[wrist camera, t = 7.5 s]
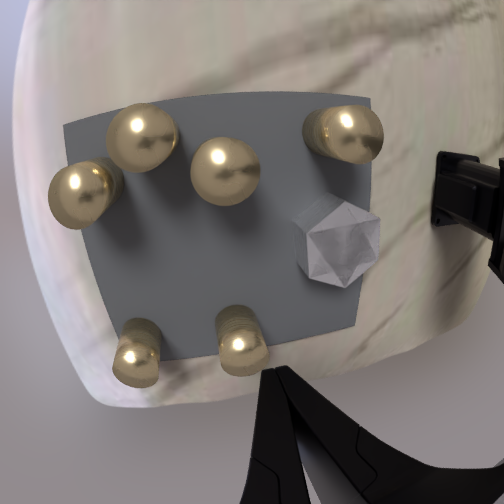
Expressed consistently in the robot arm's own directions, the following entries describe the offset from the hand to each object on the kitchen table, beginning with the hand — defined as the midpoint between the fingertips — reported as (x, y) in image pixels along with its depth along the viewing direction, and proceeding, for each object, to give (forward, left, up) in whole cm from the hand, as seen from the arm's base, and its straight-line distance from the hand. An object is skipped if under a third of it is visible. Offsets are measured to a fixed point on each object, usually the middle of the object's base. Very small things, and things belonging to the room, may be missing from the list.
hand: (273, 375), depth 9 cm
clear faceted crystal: (-7, 0, -10) cm, 12 cm away
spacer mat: (0, -1, -11) cm, 11 cm away
